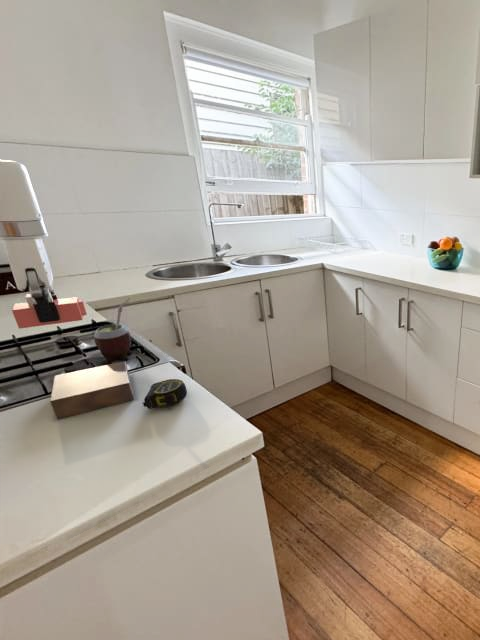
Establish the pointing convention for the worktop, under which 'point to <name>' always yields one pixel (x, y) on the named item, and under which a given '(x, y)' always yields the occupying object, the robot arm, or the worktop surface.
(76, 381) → the wood block
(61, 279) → the worktop surface
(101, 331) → the mate gourd
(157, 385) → the tape measure
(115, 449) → the worktop surface
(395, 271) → the worktop surface
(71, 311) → the pink rectangular bar
